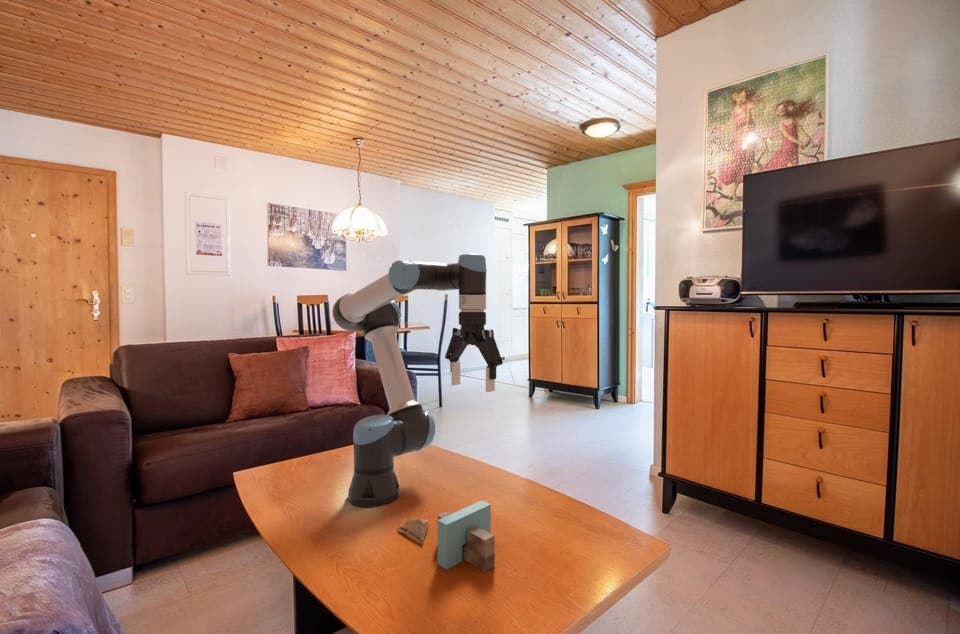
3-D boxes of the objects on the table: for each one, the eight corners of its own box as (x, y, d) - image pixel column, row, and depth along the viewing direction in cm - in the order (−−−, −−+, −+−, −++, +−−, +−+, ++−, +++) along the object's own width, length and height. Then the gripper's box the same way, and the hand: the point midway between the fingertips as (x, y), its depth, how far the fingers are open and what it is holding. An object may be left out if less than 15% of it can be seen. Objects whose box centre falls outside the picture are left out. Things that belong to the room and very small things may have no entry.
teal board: (446, 569, 98) (446, 524, 98) (437, 564, 100) (437, 520, 100) (490, 545, 108) (490, 504, 108) (481, 540, 110) (481, 500, 110)
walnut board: (437, 543, 109) (437, 515, 109) (447, 539, 111) (447, 511, 111) (485, 571, 98) (485, 540, 97) (494, 566, 100) (494, 535, 99)
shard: (423, 547, 108) (422, 540, 108) (391, 547, 108) (391, 539, 108) (429, 525, 119) (429, 518, 119) (401, 524, 119) (401, 518, 119)
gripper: (432, 310, 130) (433, 383, 130) (496, 311, 112) (496, 396, 113) (452, 310, 135) (452, 380, 136) (516, 311, 117) (515, 392, 118)
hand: (472, 388), depth 124 cm, fingers open, 13 cm apart
